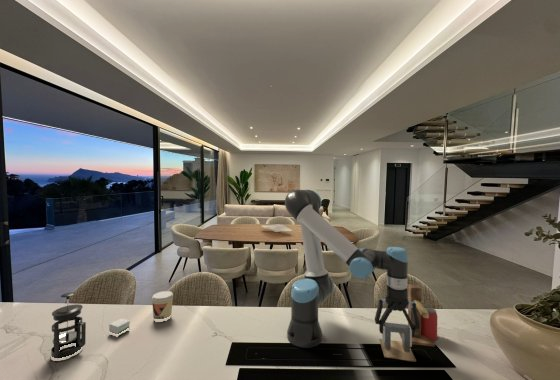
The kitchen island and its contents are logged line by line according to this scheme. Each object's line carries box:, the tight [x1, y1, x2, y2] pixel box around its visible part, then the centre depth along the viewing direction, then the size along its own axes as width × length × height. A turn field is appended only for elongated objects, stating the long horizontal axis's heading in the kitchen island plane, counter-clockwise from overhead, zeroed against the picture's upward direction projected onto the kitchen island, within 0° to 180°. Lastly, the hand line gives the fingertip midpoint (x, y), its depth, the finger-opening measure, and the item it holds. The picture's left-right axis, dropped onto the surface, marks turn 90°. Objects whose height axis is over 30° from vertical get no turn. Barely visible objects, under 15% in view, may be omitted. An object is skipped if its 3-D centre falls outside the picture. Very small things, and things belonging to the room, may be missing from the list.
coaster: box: [379, 338, 417, 363], centre depth 97 cm, size 11×11×1 cm
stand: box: [398, 283, 436, 348], centre depth 103 cm, size 12×20×22 cm, turn 167°
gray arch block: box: [384, 321, 411, 352], centre depth 97 cm, size 9×3×9 cm, turn 77°
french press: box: [50, 291, 87, 358], centre depth 94 cm, size 12×9×23 cm
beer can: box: [421, 306, 438, 341], centre depth 107 cm, size 7×7×12 cm
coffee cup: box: [151, 290, 174, 320], centre depth 119 cm, size 9×9×12 cm
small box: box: [108, 317, 131, 334], centre depth 107 cm, size 6×6×5 cm
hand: (396, 342), depth 97 cm, fingers closed on gray arch block, 9 cm apart
